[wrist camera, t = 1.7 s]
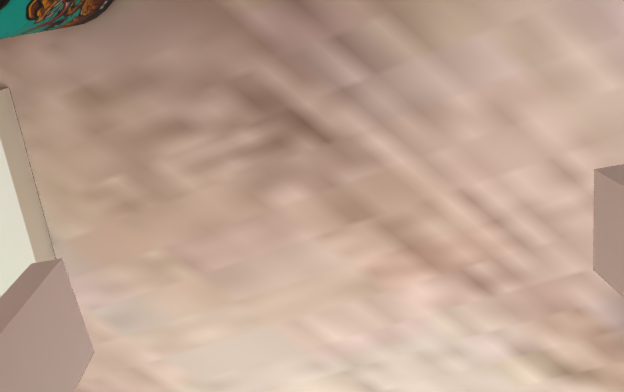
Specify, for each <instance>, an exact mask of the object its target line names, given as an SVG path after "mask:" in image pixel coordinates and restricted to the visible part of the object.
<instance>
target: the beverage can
mask: <svg viewBox="0 0 624 392" xmlns="http://www.w3.org/2000/svg"><path fill="white" fill-rule="evenodd" d="M112 1H113V0H0V39H2V38H8V37H13V36H19V35H25V34H31V33H36V32H42V31H48V30H53V29H59V28H65V27H70V26H75V25H80V24H84V23H86V22H88V21H90V20H92V19H95V18H96V17H98V16H99V15H100V14H101V13H102V12H104V11H105V10H106V9H107V8H108V6H109V5H110V4H111V3H112Z"/></svg>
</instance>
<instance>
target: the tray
mask: <svg viewBox="0 0 624 392" xmlns="http://www.w3.org/2000/svg"><path fill="white" fill-rule="evenodd" d="M55 259H56V258H55V255H54V251H53V247H52V244H51V240H50V236H49V233H48V229H47V225H46V222H45V218H44V214H43V211H42V207H41V203H40V200H39V196H38V193H37V189H36V185H35V182H34V178H33V174H32V171H31V167H30V163H29V160H28V156H27V152H26V149H25V145H24V141H23V138H22V134H21V131H20V127H19V123H18V120H17V116H16V112H15V109H14V105H13V101H12V98H11V94H10V90H9V88H3V89H0V297H1V296H2V295H3V294H4V293H5V292H6V291H7V290H8V288H9V287H10V286H11V285H12V284H13V283H14V282H15V281H16V280H17V279H18V277H19V276H20V275H21V274H22V273H23V272H24V271H25V270H26V269H27V268H28V266H29V265H30V264H31V263H37V262H43V261H49V260H55Z"/></svg>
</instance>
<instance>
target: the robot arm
mask: <svg viewBox="0 0 624 392" xmlns="http://www.w3.org/2000/svg"><path fill="white" fill-rule="evenodd" d="M593 270H594V271H595V272H596V273H597V274H598V275H600V276H601V277H602V278H603V279H604V280H605V281H606V282H607V283H608V284H609V285H610V286H612V287H613V288H614V289H615V290H616V291H617V292H618V293H619V294H620V295H621V296H623V297H624V164H623V165H617V166H611V167H605V168H599V169H594V239H593ZM93 354H94V350H93V347H92V344H91V341H90V338H89V335H88V332H87V329H86V327H85V324H84V321H83V318H82V315H81V312H80V309H79V306H78V303H77V301H76V298H75V295H74V292H73V289H72V286H71V283H70V280H69V277H68V275H67V272H66V269H65V266H64V263H63V260H62V258H61V259H55V260H49V261H43V262H37V263H31V264H30V265H29V266H28V268H27V269H26V270H25V271H24V272H23V273H22V274H21V275H20V276H19V277H18V279H17V280H16V281H15V282H14V283H13V284H12V285H11V286H10V287H9V288H8V290H7V291H6V292H5V293H4V294H3V295H2V296H1V297H0V392H74V391H75V389H76V387H77V385H78V383H79V381H80V379H81V377H82V375H83V373H84V371H85V370H86V368H87V366H88V364H89V362H90V360H91V358H92V356H93Z"/></svg>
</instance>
